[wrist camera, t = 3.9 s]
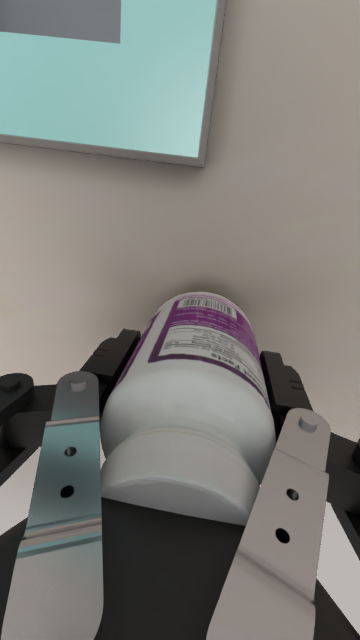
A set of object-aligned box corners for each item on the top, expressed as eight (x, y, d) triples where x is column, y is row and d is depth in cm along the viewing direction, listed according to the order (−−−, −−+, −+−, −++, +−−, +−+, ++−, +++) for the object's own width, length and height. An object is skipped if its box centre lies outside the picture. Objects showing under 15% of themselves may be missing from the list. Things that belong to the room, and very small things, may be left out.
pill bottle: (194, 396, 17) (161, 626, 8) (129, 329, 15) (5, 515, 7) (276, 346, 15) (353, 580, 6) (208, 265, 13) (180, 409, 5)
